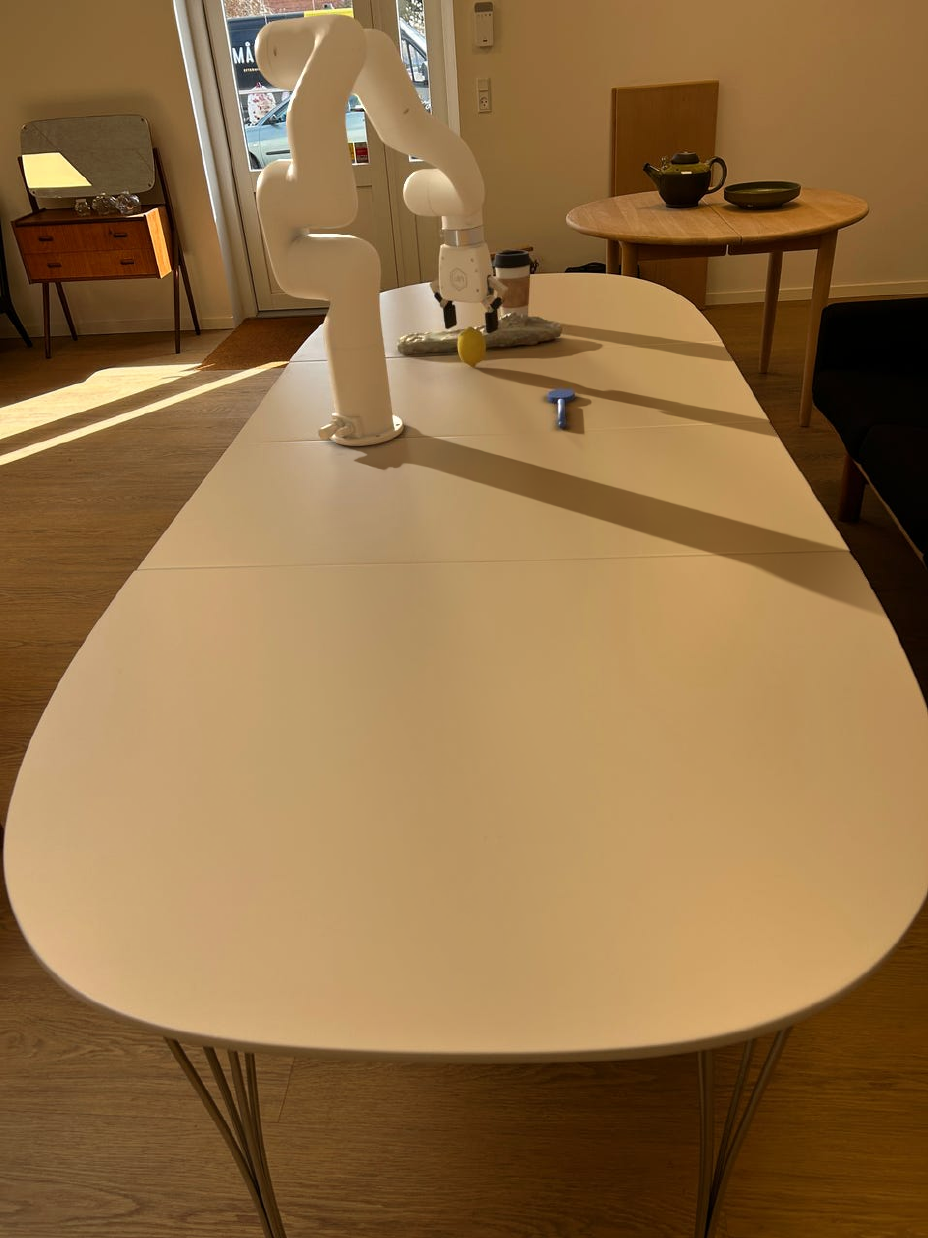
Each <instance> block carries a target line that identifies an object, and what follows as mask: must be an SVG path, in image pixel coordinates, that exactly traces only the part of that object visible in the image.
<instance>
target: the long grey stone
mask: <svg viewBox="0 0 928 1238" xmlns="http://www.w3.org/2000/svg"><path fill="white" fill-rule="evenodd" d="M467 328H468V327H463V328H457V329H455V328H454V329H452V328H451V329H448V330H439V331H427V332H417V333H414V332H412V333H407V334H406V335H403V336H402V337H400V338H398V339H397V343H396V348H397V351H398V352H399V353H400V354H401V355H403V356H406V355H407V356H408V355H411V354H417V353H420V354H424V353H450V352H458V339H459V336H460V334H461V333H462V332H463V331H464V330H465V329H467ZM474 328H475V329H477V330H479V331H480V332H481V333H482V335H483V337H484V340H485V344H486V349H487V348H493V347H494V348H495V347H499V348H501V347H502V348H505V347H508V348H509V347H514V346H517V345H526V346H534V345H536V344H538V343H539V342H544V341H550V340H552V339H556V338H559V337H561V336H562V332H563V327H562V323H559V322H557V321H553V320H548V319H544V318H541V317H539V316H532V315H531V316H529V314H528V315H522V316H521V315H517V314H516V313H515V312H514V313H509V314H507V315H505V316H503V317H502V316H500V318H498V329H497V330H496V331H494V332H492V333H490V334H489V333H487V332H486V324H482V325H480V326H475V327H474Z"/></svg>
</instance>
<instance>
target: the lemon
mask: <svg viewBox="0 0 928 1238" xmlns="http://www.w3.org/2000/svg"><path fill="white" fill-rule="evenodd" d="M466 328H467V329H465V330H464V331H463V332H462V333H461V334H460V336H459V339H458V351H457V352H458V353H457V354H458V356H459V358H460V360H461V361H462V362H463V363H465V364H466V365H469V366H470V367H471V368H476V366H477V365H478V364H479V363H481V362H482V361H483V360H484V358H485V356H486V352H487V351H486V350H487V348H486V344H485V340H484V337H483V335H482V333H481V332H480V331H479V330H477V329H475V327H473V326H468V327H466Z"/></svg>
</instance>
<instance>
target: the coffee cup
mask: <svg viewBox="0 0 928 1238" xmlns="http://www.w3.org/2000/svg"><path fill="white" fill-rule="evenodd" d="M531 264H532V259H531V257H530V252H529V251H528V250H523V249H511V250H504V251H500V252H496V253H495V254H494V260H493V264H492V267H494V268H495V279H496V280H497V281H499V282H500V283H502V284H503V285H505V286H506V287H507V288H508V291H507V294H506V297H505V300H504V302H503V303H502V304H501V306H500V308H499V309H500V315H501V316H500V317H503V316H505V315H507V314H509V313H514V312H515V313H516V314H517V315H521V316H522V315H528V316H529V305H530V304H529V303H530V287H531V272H530V267H531V266H530V265H531Z"/></svg>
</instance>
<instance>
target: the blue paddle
mask: <svg viewBox="0 0 928 1238" xmlns="http://www.w3.org/2000/svg"><path fill="white" fill-rule="evenodd" d="M575 398H576V392H575V391H574V390H572V389H569V388H557V389H552V390H550V391H548V393H547V401H548V402H550V403H553V404H557V423H558V426H557V427H558V428H559V429H561V430H563V429H565V428H566V426H567V423H566V422H567V421H566V403H570V402H573V401H574V400H575Z"/></svg>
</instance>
